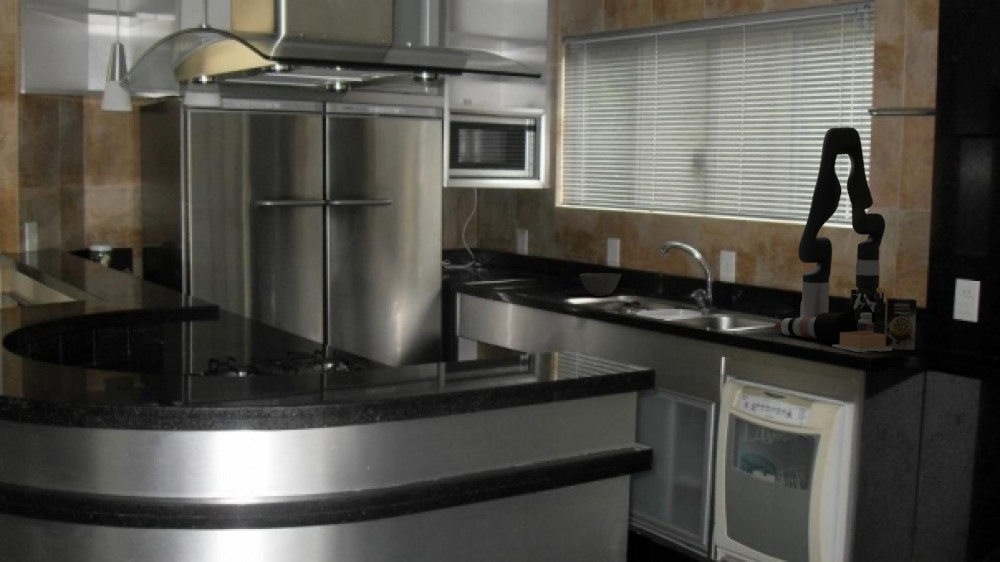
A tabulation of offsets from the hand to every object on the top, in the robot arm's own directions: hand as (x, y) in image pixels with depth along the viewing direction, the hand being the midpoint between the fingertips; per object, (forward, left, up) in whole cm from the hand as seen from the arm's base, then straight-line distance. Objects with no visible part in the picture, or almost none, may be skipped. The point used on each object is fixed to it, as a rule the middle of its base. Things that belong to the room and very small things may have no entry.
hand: (866, 321), depth 402 cm
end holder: (+12, -11, -7) cm, 17 cm away
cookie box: (+14, +2, -7) cm, 16 cm away
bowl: (-158, -20, -7) cm, 160 cm away
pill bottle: (0, 0, -7) cm, 7 cm away
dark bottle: (-13, -13, -7) cm, 20 cm away
